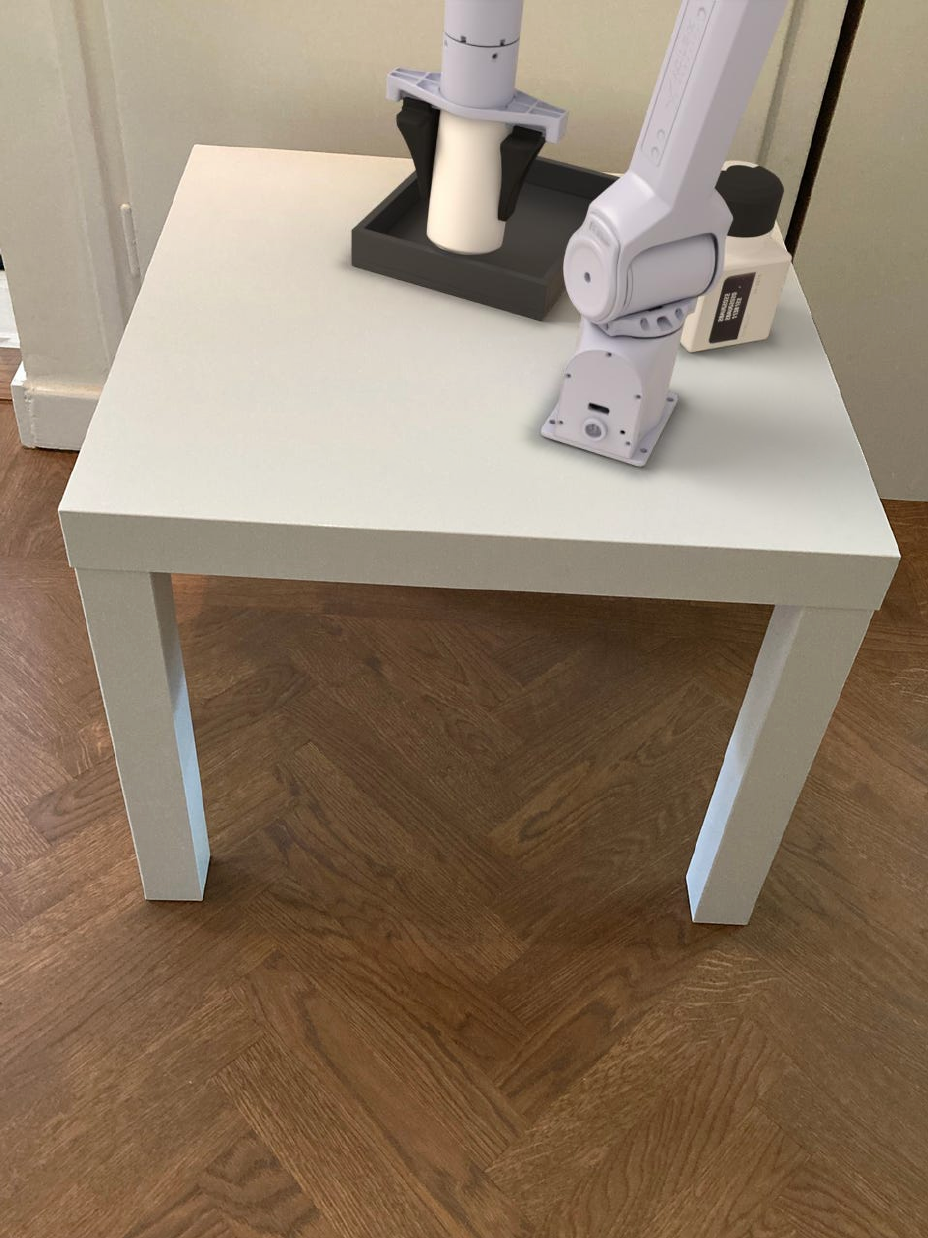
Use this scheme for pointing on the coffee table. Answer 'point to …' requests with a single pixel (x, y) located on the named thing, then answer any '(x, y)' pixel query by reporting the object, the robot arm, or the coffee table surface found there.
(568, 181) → the tray
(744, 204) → the container
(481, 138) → the can
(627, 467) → the coffee table surface
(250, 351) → the coffee table surface
